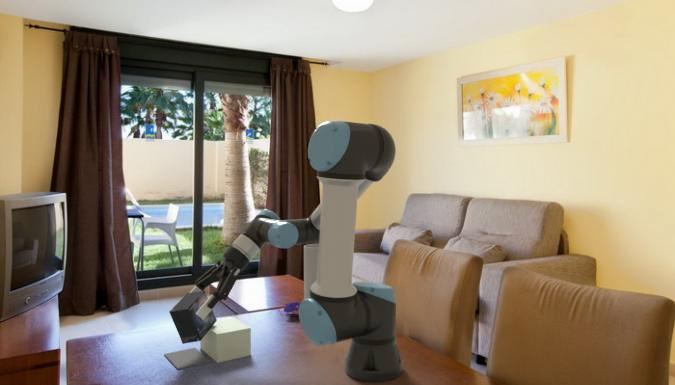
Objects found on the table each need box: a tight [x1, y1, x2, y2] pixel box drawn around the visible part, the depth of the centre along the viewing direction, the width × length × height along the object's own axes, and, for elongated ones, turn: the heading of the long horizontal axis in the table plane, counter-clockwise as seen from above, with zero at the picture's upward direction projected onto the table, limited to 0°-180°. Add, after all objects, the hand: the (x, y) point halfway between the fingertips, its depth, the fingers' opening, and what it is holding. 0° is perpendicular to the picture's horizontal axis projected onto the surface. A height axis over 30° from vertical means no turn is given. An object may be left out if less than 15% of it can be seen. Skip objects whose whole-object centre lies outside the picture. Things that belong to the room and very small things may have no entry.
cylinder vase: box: [303, 243, 319, 300], centre depth 188 cm, size 12×12×25 cm
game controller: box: [278, 299, 301, 321], centre depth 180 cm, size 10×8×10 cm
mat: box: [163, 347, 211, 371], centre depth 138 cm, size 13×9×1 cm
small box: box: [168, 289, 217, 344], centre depth 138 cm, size 11×6×10 cm, turn 168°
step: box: [199, 316, 252, 364], centre depth 143 cm, size 14×10×8 cm
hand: (191, 311), depth 137 cm, fingers open, 13 cm apart
